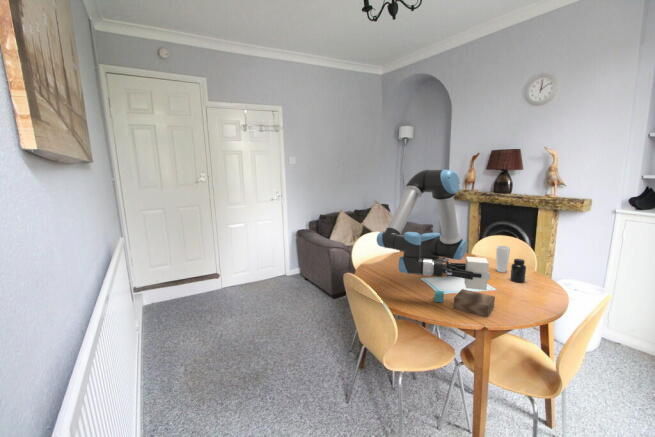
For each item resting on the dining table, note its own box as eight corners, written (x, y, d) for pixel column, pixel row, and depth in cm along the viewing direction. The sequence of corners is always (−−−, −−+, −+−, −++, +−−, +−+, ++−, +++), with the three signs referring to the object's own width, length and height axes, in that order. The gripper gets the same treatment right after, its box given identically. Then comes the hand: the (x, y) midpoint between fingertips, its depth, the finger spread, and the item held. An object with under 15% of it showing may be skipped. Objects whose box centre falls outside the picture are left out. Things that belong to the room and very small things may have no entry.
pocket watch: (448, 259, 208) (449, 245, 207) (449, 263, 201) (449, 248, 199) (435, 258, 211) (436, 244, 209) (435, 262, 203) (436, 247, 202)
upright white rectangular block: (466, 288, 134) (467, 261, 132) (464, 281, 141) (466, 256, 139) (486, 290, 131) (488, 263, 129) (483, 283, 139) (485, 258, 137)
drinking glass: (492, 269, 188) (494, 245, 185) (503, 269, 188) (505, 245, 186) (499, 273, 181) (501, 248, 178) (510, 272, 182) (512, 248, 179)
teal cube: (434, 301, 145) (434, 293, 144) (434, 298, 149) (435, 290, 148) (443, 302, 144) (443, 294, 143) (443, 299, 147) (443, 291, 147)
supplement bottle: (526, 283, 165) (529, 262, 163) (512, 282, 167) (514, 261, 165) (521, 278, 172) (523, 258, 170) (508, 278, 173) (510, 257, 171)
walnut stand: (453, 307, 138) (454, 297, 137) (461, 298, 147) (462, 289, 146) (487, 317, 129) (488, 305, 128) (494, 306, 138) (494, 296, 138)
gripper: (433, 268, 151) (484, 273, 144) (432, 283, 132) (491, 289, 125) (433, 253, 150) (485, 257, 143) (433, 266, 131) (493, 272, 123)
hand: (488, 272), depth 134 cm, fingers closed on upright white rectangular block, 8 cm apart
